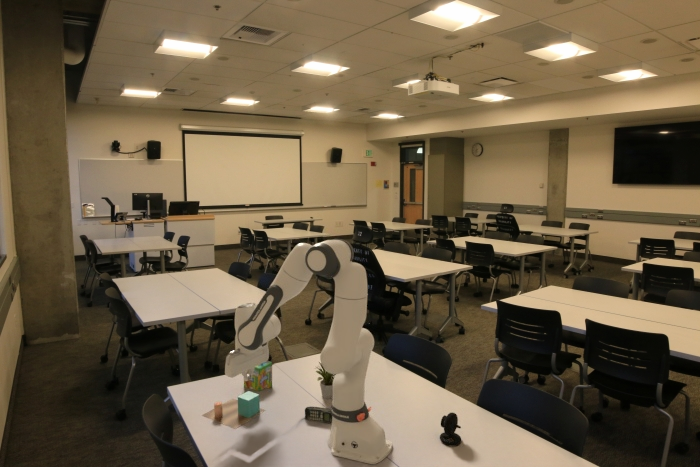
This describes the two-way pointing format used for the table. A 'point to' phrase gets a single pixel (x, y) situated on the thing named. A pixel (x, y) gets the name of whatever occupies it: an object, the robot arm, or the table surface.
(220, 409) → the terracotta peg
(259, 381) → the chalk box
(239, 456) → the table surface
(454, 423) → the webcam
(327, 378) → the house plant
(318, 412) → the mobile phone
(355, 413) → the robot arm
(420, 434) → the table surface
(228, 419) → the walnut board
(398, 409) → the table surface
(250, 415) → the mint green cube
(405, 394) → the table surface
